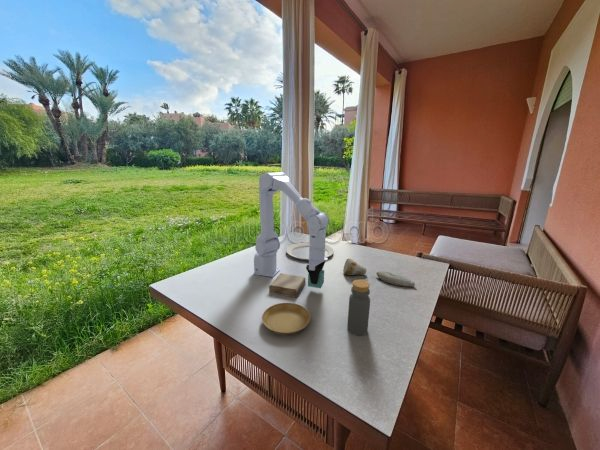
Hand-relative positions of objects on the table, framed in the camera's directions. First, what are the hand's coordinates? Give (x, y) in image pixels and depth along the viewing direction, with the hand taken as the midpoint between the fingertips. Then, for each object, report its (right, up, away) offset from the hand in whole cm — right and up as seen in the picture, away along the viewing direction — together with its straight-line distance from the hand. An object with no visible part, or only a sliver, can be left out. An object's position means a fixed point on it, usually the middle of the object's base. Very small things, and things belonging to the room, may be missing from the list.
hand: (316, 280), depth 92 cm
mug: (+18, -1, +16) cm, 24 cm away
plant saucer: (-10, -10, -17) cm, 22 cm away
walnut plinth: (-11, -4, +3) cm, 12 cm away
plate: (-1, +5, +40) cm, 40 cm away
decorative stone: (+33, -3, +9) cm, 35 cm away
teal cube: (0, -2, 0) cm, 2 cm away
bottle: (+11, -10, -19) cm, 25 cm away
